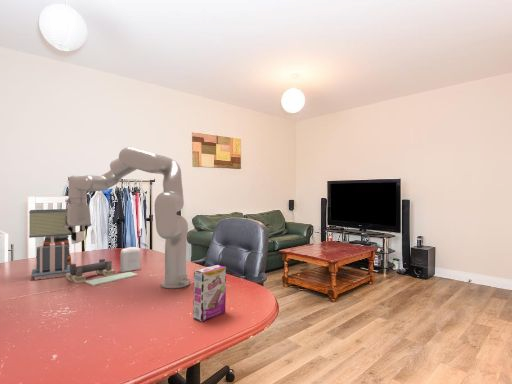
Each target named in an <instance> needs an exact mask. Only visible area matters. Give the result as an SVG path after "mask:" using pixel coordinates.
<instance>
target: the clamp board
mask: <svg viewBox="0 0 512 384" xmlns="http://www.w3.org/2000/svg"><path fill="white" fill-rule="evenodd" d="M98 261H99V262H98V263H101V262H106V269H102V270H97V271H95V273H96V274H98V275H101V276H103V277H107V276H112V275H116V270H115V269H113V268H112V266H113V265H112V263H113V262H112V260H106V258H99V259H98ZM69 265H70V269H71V268H72V267H76V275H71V273H70V272H69V273H66V276H65V279H66V280H68V281H70V282H72V283H74V284H81V283H85V281H87V280H86V279H87V276H86V275H84V274H83V273H82V266H83V265H78V266H77V264H76V263H71V264H69Z"/></svg>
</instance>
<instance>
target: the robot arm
mask: <svg viewBox="0 0 512 384" xmlns="http://www.w3.org/2000/svg"><path fill="white" fill-rule="evenodd" d="M109 168H110V170H109V171H107V172H105V173H103V174H101V175H93V174H92V175H91V174H89V175H87V174H86V175H71V176H69V177H68V198H67V199H65V203H67V205H66V208H65V209H66V213H65V223H64V225H63V228H66V229H68V230H70V232H71V235H70V239H71V238H72V240H73V241H76V233H77V232H76V227H78V226H79V231H78V232H81V231H84V232H85V231H86V230H87V229H88V228H89V227H92V222H91V220H92V219H91V210H90V205H89V204H88V203H87V202H88V201H87V198H88V197H87V196H88V195H87V194H88V193H87V192H102V191H106V190H108V189H110V188H112V187H113V186H115V185H117V184H118V183H119V182H121V180H122V178H124V177H127V176H128V175H129V174H131V173H133V172H135V171H136V170H139V171H142V172H145V173H149V174H159V175H163V180H162V188H163V191H162V192H160V193H159V194H158V195H157V196H156V198H155V200H154V206H153V207H154V215H155V217H154V218H155V229H156V232H157V234H158V236H159V237H160V238H161V239H164V240H165V243H164V280H162V281H161V282H160V286H161V287H162V288H165V289H180V288H186V287H187V286H189V285H190V282H191V279H189V278H188V274H187V241H188V240H187V239H188V233H189V232H188V231H189V224H188V221H187V219H186V217H184V216H182V215H178V214H177V213H178V212H180V211H181V210H183V207H184V204H185V203H184V202H185V201H184V192H183V191H184V190H183V189H184V188H183V181H182V180H183V178H182V170H181V166H180V165H179V164H178V162H177V161H176V160H174V159H173V158H170V157H167V156H164V155H161V154H157V153H153V152H148V151H145V150H143V149H141V148H137V147H132V146H126V147H124V148H122V149H121V150H120V151H119V153H118V158H116V159H115V160H112V161H111V162H110V163H109ZM68 225H69V226H70V227H69V226H68Z"/></svg>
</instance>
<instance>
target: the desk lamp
mask: <svg viewBox="0 0 512 384" xmlns="http://www.w3.org/2000/svg"><path fill="white" fill-rule="evenodd" d="M65 213H66V208H65V209H64V208H57V209H30V210H29V212H28V214H29V216H28V217H29V221H28V222H29V224H28V226H29V229H28V230H29V233H28V234H29V235H28V237H29V239H31V238H34V239H35V238H45V237H49V236H51V243H50V246H44V247H43V243H39V246H37V247H36V268H33V269H31V276H30V278H33V277H34V281H38V280H37V279H41V280H47V279H46V278H49V279H54V278H55V277H57V278H63V277H66V273H70V264H69V265H67V245H64V242H62V245H56V246H55V243H54V236H65V235H68V236H71V232H70V230H68V229H66V228H63V225H64V223H65ZM68 226H69V225H68ZM69 227H70V226H69Z"/></svg>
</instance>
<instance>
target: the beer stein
mask: <svg viewBox="0 0 512 384" xmlns="http://www.w3.org/2000/svg"><path fill="white" fill-rule="evenodd" d="M69 238H70V235H65V236H54V243H55V246H56V245H62V242H64V245H67V266H68V265H70V264H72V257H71V256H72V255H71V253H70V246H71V245H70V240H69ZM50 243H51V236H49V237H44V241H43V243H42V244H43V247H44V246H50Z"/></svg>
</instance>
